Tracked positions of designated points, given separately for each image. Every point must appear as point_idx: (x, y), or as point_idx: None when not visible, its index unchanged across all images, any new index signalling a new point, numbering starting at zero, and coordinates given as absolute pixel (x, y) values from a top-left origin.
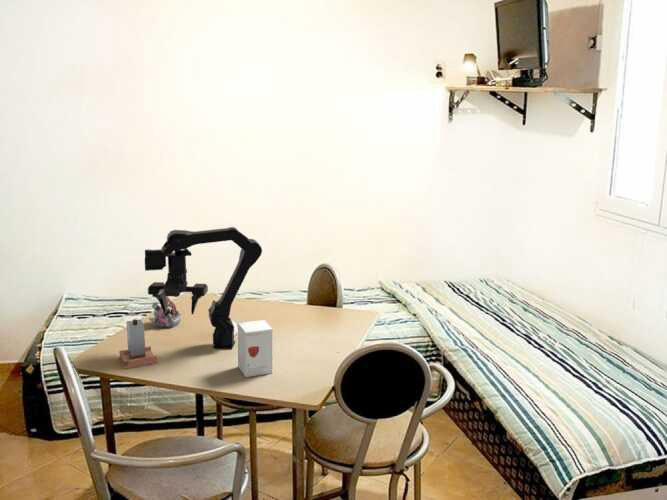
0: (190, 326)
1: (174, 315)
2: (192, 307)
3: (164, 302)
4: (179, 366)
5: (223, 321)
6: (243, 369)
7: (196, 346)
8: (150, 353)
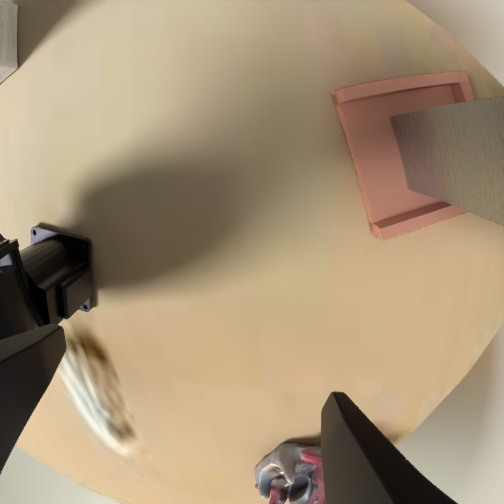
0: (220, 443)
1: (274, 485)
2: (2, 352)
3: (359, 496)
4: (220, 47)
5: None
6: (7, 11)
7: (163, 277)
8: (374, 187)
